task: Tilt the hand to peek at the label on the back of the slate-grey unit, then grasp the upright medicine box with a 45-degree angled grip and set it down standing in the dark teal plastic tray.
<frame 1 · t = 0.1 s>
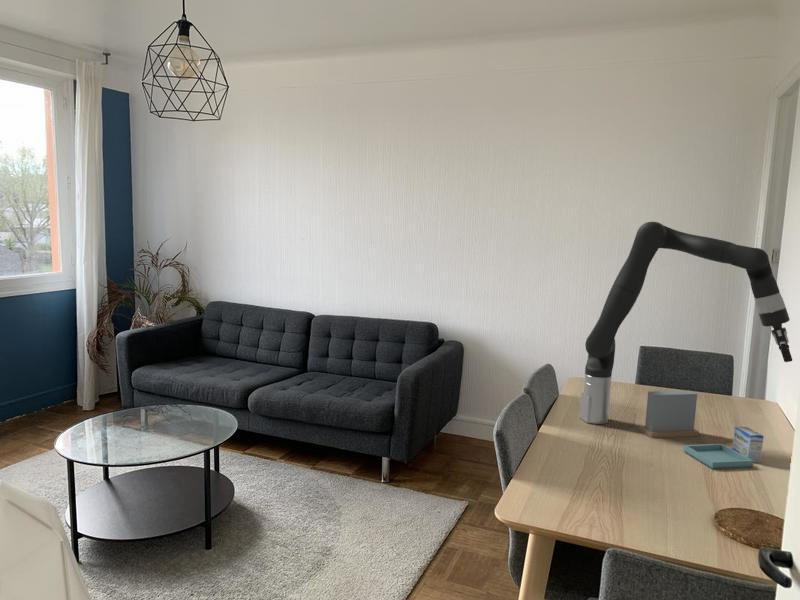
hand: (787, 358, 185), 31 cm above the table, fingers open, 8 cm apart
medicine box: (745, 457, 186), on the table
teal tray: (716, 459, 184), on the table
slate unit: (668, 432, 206), on the table
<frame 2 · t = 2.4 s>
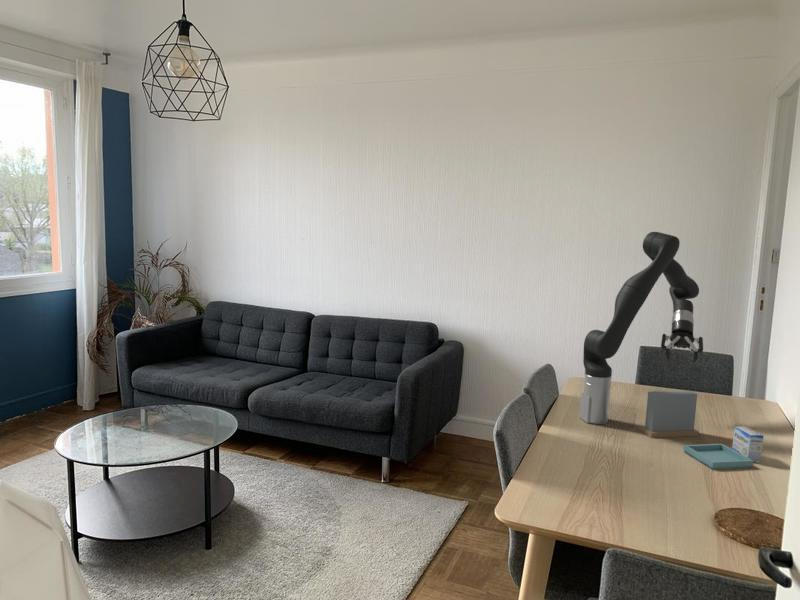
hand: (681, 360, 218), 23 cm above the table, fingers open, 8 cm apart
nothing on the table moved.
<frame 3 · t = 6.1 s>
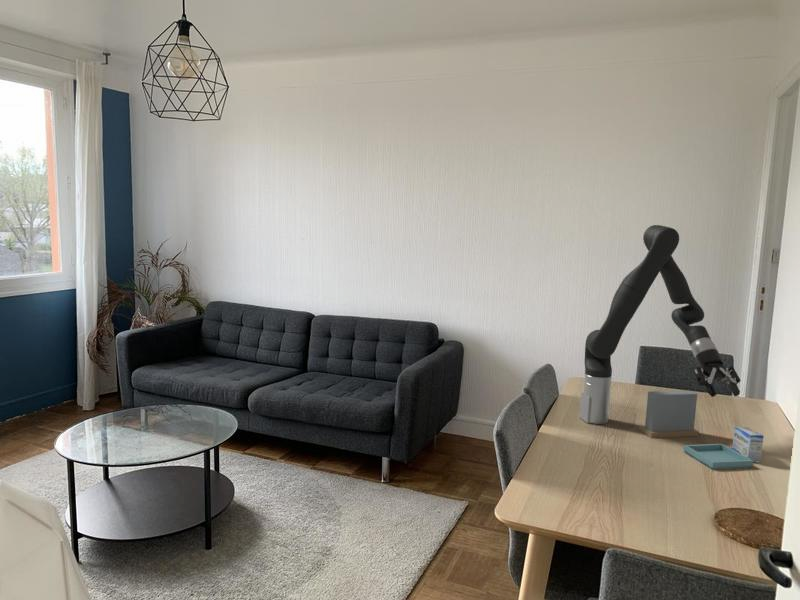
hand: (725, 395, 195), 16 cm above the table, fingers open, 8 cm apart
nothing on the table moved.
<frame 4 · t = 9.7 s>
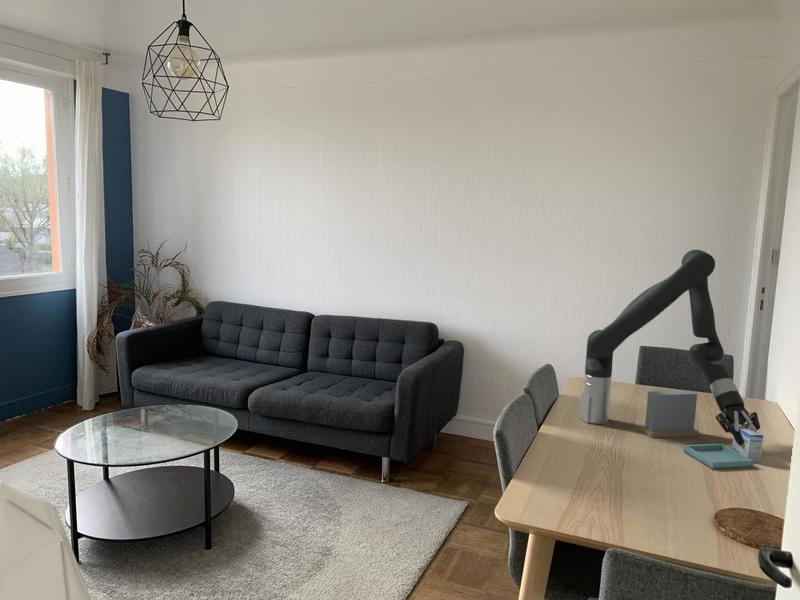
hand: (749, 443, 185), 5 cm above the table, fingers closed on medicine box, 4 cm apart
medicine box: (745, 457, 186), on the table, touching gripper
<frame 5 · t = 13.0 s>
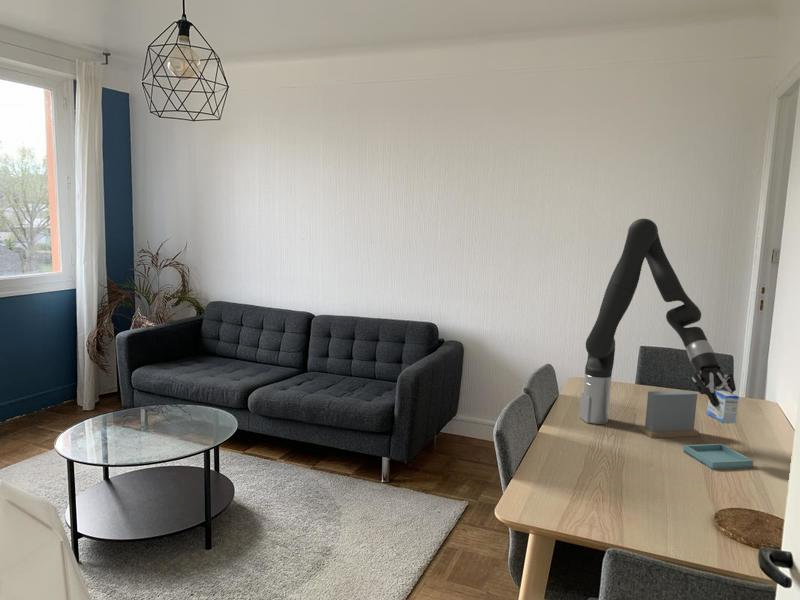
hand: (724, 405, 181), 18 cm above the table, fingers closed on medicine box, 4 cm apart
medicine box: (721, 419, 182), point 13 cm above the table, touching gripper
when the fingers open (6 cm above the table, at t = 16.2 s): medicine box stays where it is, resting on teal tray.
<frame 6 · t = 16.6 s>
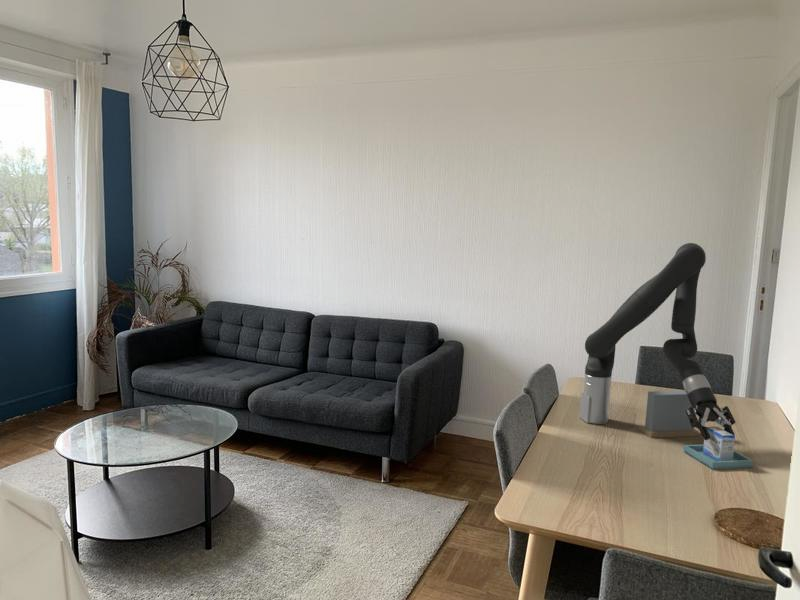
hand: (720, 438, 182), 7 cm above the table, fingers open, 8 cm apart
medicine box: (717, 458, 184), resting on teal tray
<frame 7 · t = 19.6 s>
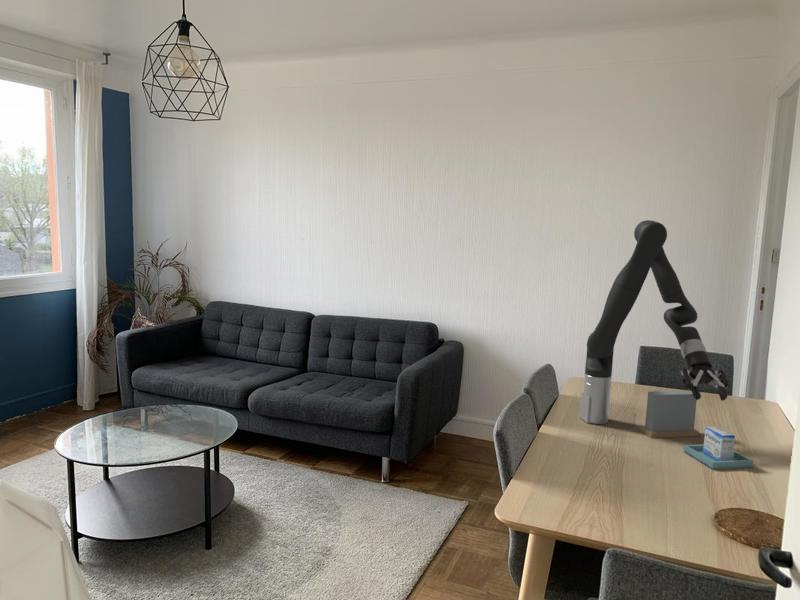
hand: (711, 399, 188), 17 cm above the table, fingers open, 8 cm apart
nothing on the table moved.
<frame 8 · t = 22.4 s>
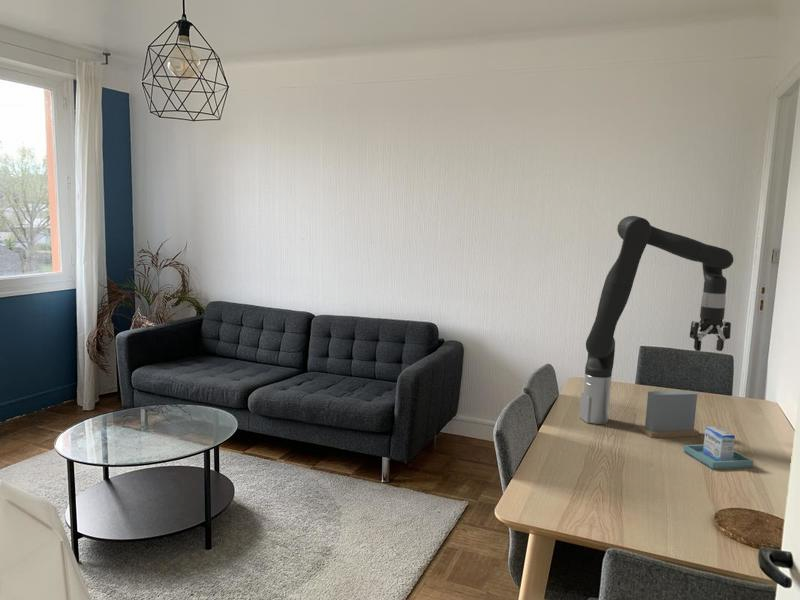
hand: (708, 350, 210), 28 cm above the table, fingers open, 8 cm apart
nothing on the table moved.
at the end: medicine box inside the target area on the teal tray (0.2 cm from its centre), point 0.4 cm above the teal tray's base; medicine box tilted 0°; the gripper is holding nothing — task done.
